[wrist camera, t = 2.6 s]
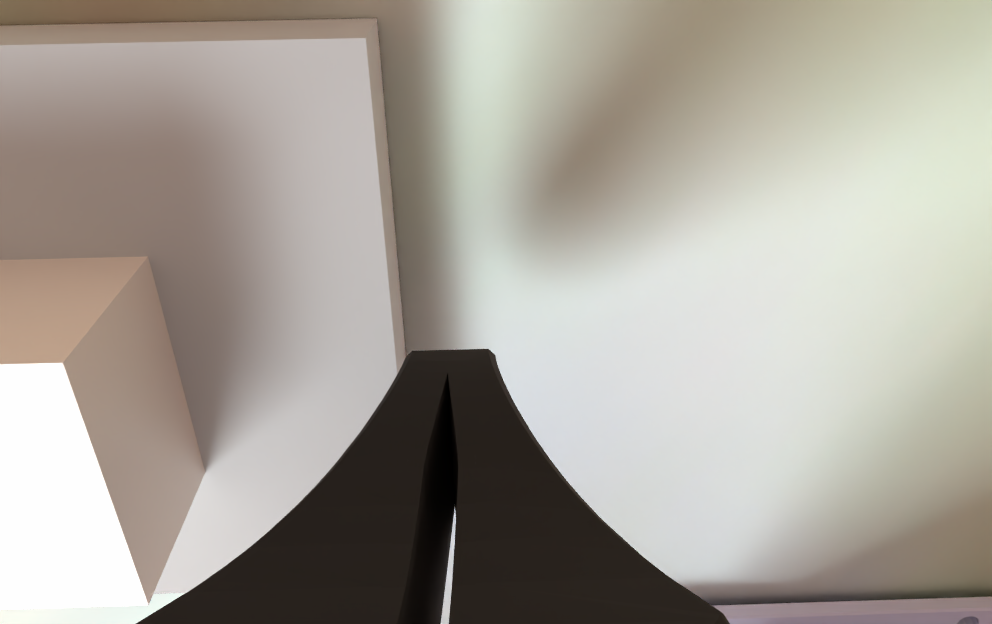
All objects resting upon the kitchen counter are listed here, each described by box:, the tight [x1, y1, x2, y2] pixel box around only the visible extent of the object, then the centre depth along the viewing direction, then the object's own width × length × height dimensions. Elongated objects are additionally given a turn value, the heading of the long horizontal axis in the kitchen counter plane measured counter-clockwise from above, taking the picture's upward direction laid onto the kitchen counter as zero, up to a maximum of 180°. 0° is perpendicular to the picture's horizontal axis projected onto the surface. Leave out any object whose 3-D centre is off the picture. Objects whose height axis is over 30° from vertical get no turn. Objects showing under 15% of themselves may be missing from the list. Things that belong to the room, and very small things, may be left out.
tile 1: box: [0, 256, 205, 610], centre depth 12 cm, size 4×4×3 cm
